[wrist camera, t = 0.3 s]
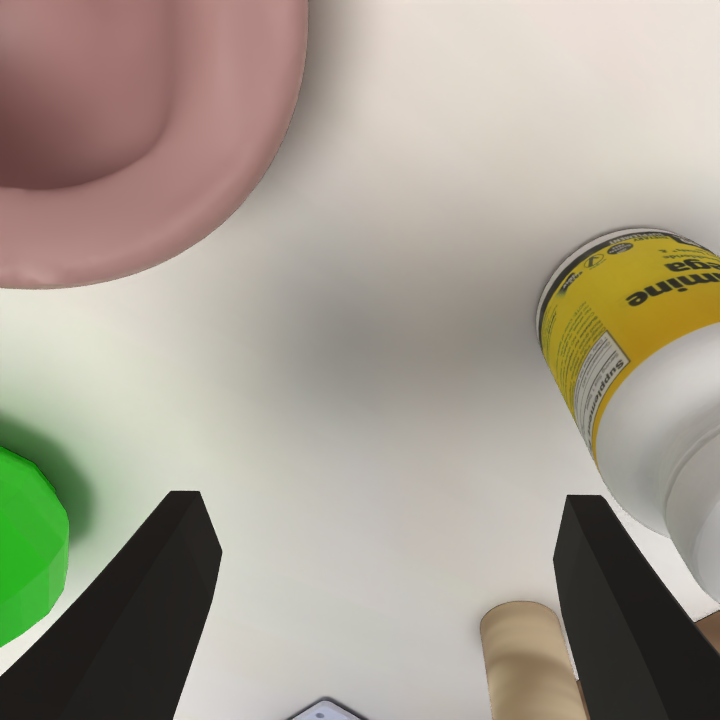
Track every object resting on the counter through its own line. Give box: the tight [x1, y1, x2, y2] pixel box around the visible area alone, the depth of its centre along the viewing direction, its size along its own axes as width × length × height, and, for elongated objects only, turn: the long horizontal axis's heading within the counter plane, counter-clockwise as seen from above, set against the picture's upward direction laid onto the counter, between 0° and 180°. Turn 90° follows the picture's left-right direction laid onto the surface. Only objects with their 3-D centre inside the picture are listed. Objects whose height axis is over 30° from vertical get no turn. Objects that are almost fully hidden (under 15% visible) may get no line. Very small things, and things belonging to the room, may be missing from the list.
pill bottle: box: [536, 228, 720, 604], centre depth 15 cm, size 6×6×11 cm
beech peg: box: [480, 601, 587, 720], centre depth 24 cm, size 4×4×9 cm
